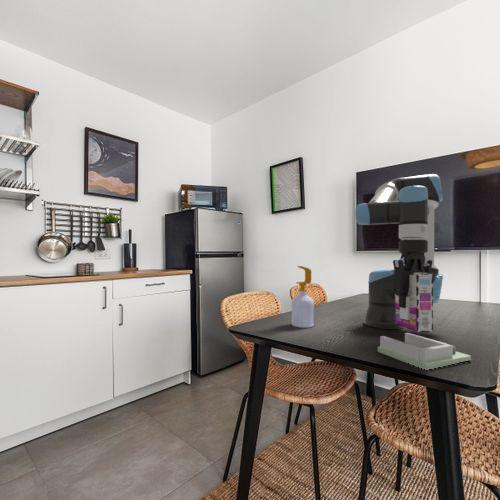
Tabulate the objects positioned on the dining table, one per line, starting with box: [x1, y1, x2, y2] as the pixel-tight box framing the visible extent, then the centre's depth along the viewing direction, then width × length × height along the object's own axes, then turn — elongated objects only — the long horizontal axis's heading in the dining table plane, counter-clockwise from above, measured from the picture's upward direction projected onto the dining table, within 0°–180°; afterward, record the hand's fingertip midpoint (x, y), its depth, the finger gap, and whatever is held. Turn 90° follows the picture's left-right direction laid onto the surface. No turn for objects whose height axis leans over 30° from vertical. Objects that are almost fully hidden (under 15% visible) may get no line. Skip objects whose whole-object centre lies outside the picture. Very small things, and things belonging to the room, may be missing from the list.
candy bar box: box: [395, 272, 434, 333], centre depth 89 cm, size 11×5×16 cm, turn 6°
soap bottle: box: [291, 265, 315, 329], centre depth 125 cm, size 9×9×25 cm
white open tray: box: [377, 332, 472, 371], centre depth 88 cm, size 18×16×4 cm
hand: (412, 317), depth 89 cm, fingers closed on candy bar box, 6 cm apart
